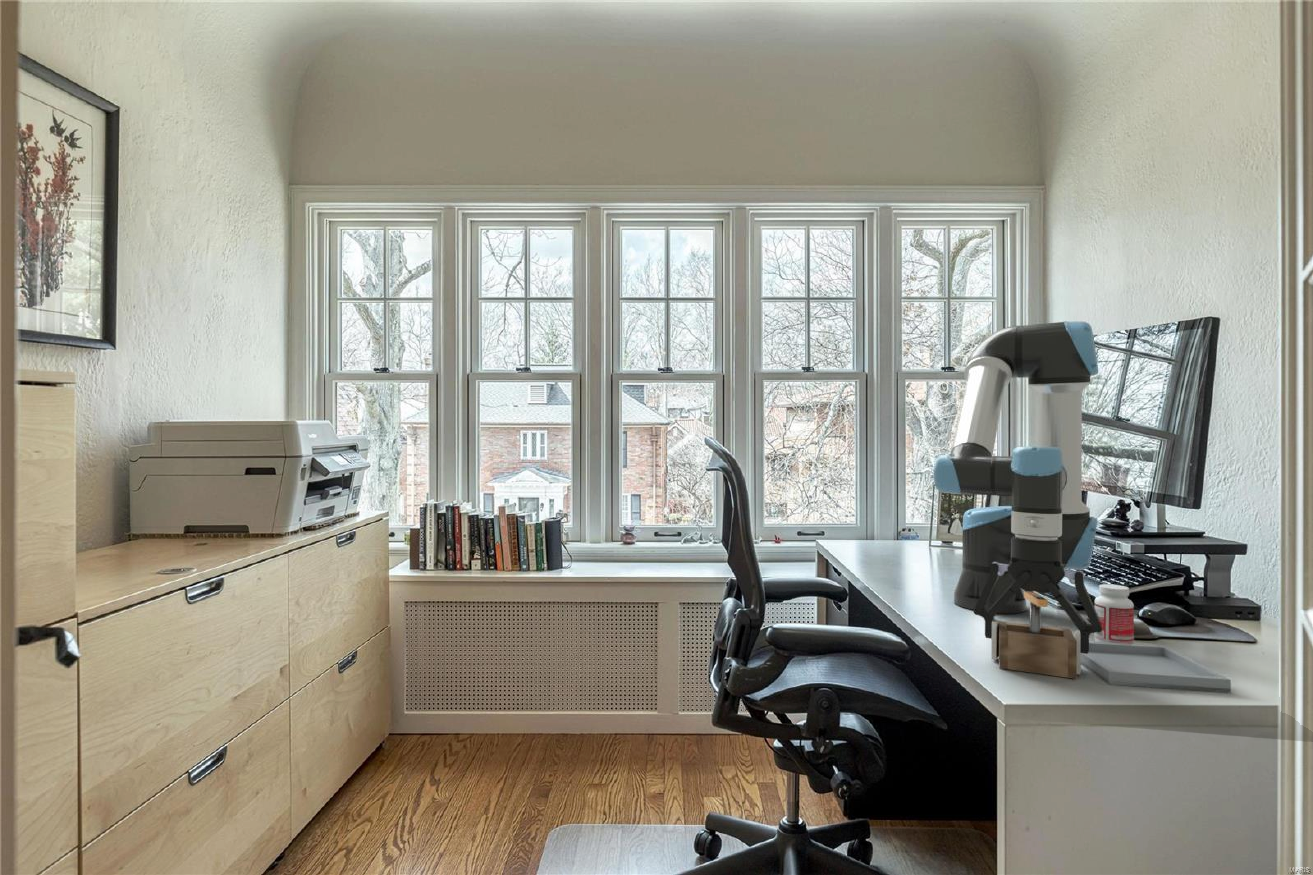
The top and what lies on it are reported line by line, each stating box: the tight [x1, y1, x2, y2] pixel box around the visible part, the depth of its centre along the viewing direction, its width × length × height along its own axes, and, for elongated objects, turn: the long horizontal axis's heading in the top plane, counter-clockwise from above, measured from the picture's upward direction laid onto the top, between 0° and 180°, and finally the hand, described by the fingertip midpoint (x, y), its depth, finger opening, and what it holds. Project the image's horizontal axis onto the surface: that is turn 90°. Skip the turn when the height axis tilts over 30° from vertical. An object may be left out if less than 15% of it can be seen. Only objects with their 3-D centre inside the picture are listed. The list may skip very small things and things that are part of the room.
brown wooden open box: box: [997, 620, 1078, 680], centre depth 113 cm, size 11×9×6 cm
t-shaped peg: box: [1023, 590, 1048, 634], centre depth 113 cm, size 6×2×12 cm, turn 170°
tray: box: [1081, 641, 1232, 693], centre depth 112 cm, size 17×17×2 cm
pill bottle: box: [1094, 583, 1135, 644], centre depth 126 cm, size 6×6×11 cm
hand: (1035, 664), depth 113 cm, fingers closed on brown wooden open box, 12 cm apart
